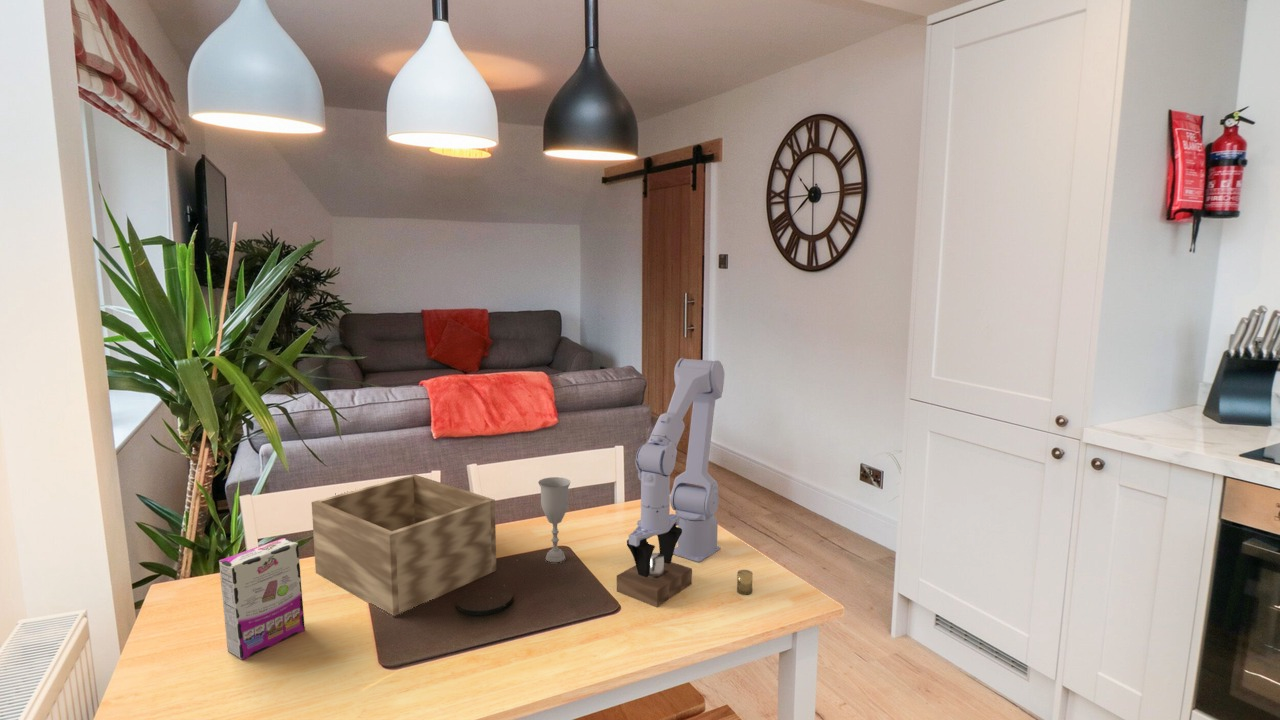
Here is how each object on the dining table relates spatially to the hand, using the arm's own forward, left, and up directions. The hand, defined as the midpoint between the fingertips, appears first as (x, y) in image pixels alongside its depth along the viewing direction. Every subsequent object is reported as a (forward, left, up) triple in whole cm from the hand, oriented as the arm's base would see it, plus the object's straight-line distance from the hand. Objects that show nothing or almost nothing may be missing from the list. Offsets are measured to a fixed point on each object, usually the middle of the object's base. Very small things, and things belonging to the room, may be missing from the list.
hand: (654, 568), depth 135 cm
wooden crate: (+27, -45, -4) cm, 53 cm away
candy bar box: (+57, -41, -4) cm, 70 cm away
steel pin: (0, 0, -4) cm, 4 cm away
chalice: (+3, -25, -4) cm, 26 cm away
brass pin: (-10, +15, -4) cm, 19 cm away
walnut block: (0, 0, -4) cm, 4 cm away
